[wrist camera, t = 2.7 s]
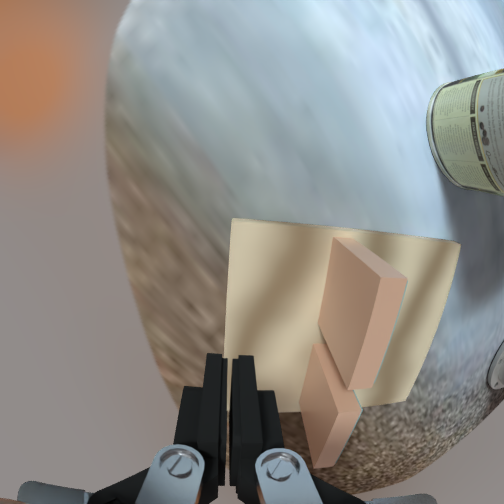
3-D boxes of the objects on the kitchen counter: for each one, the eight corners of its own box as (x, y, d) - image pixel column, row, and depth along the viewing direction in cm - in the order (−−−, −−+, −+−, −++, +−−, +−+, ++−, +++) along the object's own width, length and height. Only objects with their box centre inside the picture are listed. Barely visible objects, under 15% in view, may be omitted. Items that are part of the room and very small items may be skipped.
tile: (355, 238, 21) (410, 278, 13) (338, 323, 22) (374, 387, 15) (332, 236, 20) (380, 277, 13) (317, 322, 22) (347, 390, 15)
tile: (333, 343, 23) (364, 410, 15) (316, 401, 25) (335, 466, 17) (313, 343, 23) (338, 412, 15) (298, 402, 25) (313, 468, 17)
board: (453, 240, 22) (461, 244, 21) (401, 394, 27) (405, 400, 26) (232, 218, 21) (231, 221, 20) (222, 402, 26) (221, 410, 25)
